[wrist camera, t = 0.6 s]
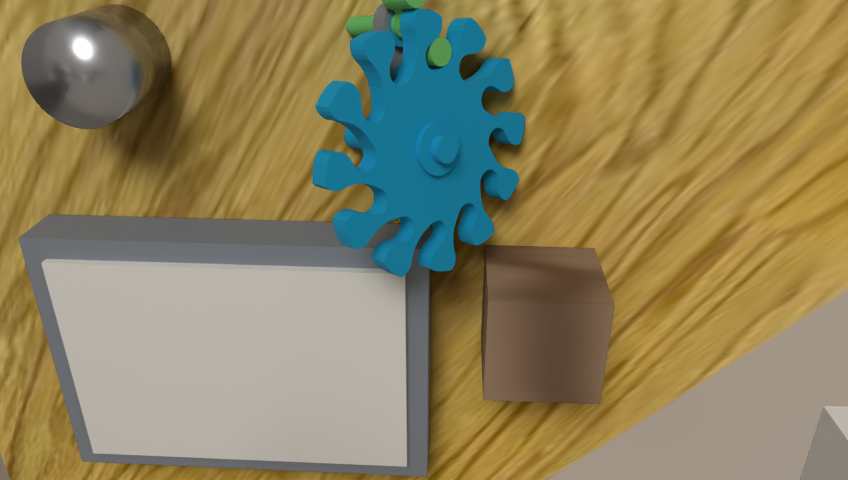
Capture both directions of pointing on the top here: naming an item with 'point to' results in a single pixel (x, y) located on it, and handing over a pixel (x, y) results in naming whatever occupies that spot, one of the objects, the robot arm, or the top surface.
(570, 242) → the top surface
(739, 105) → the top surface
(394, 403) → the stand
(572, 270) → the walnut block
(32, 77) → the steel cylinder
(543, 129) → the top surface
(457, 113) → the gear
